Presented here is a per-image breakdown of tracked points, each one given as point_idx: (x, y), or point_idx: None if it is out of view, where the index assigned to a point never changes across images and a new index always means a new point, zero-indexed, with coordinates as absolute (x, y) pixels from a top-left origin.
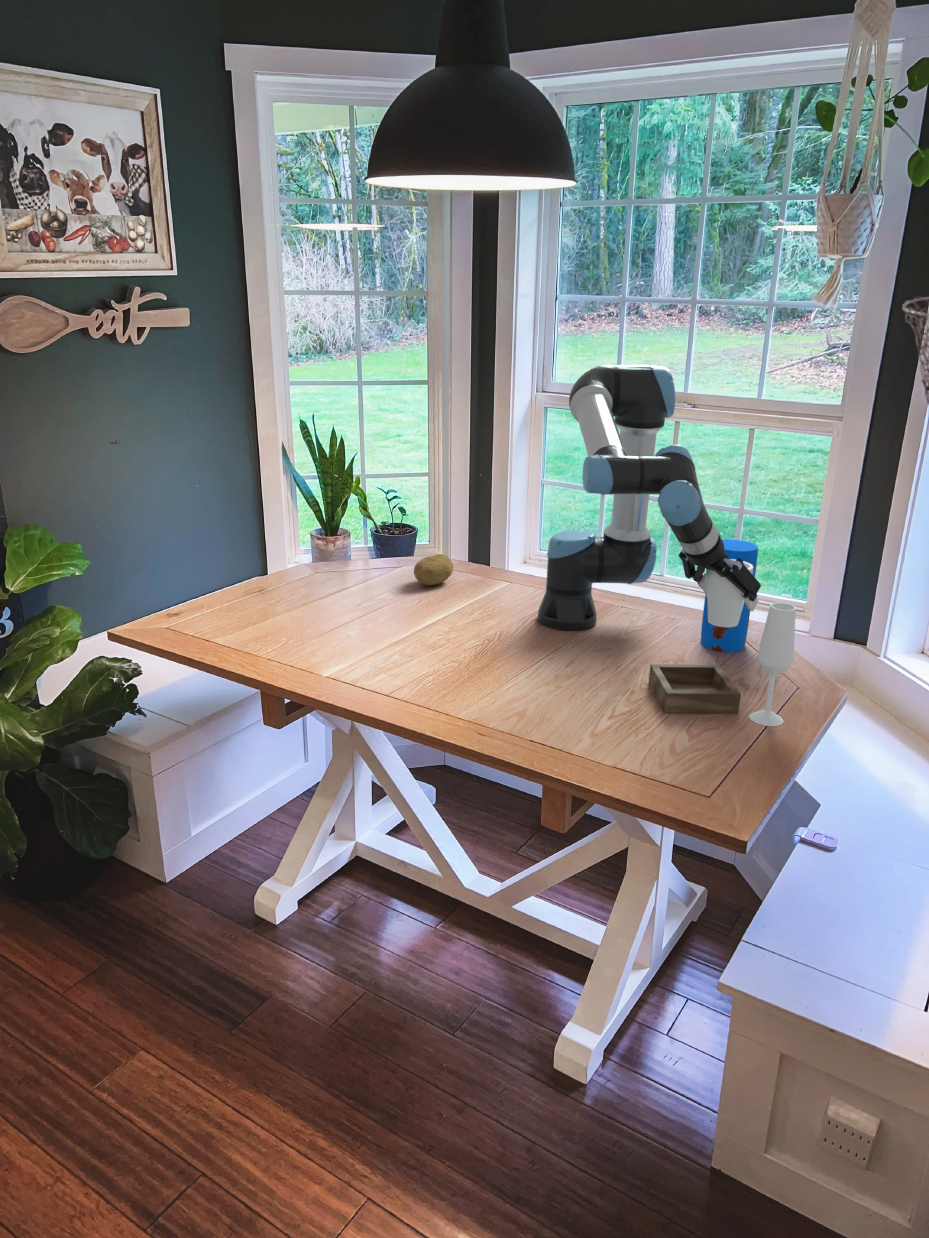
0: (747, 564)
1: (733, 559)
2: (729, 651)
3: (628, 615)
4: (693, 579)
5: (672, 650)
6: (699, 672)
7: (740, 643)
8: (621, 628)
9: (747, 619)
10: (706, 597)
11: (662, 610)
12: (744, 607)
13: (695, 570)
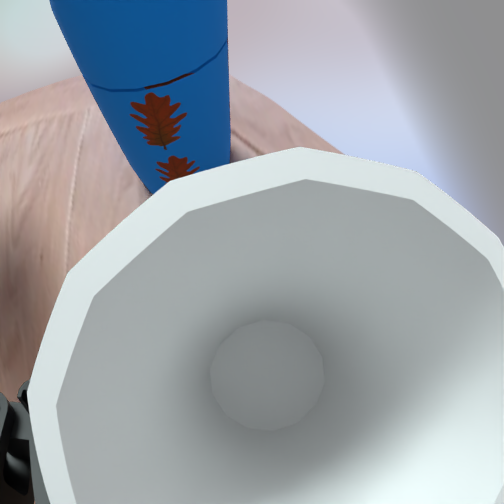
0: (465, 246)
1: (253, 161)
2: None
3: (7, 160)
4: None
5: None
6: None
7: (227, 162)
8: (5, 223)
9: (229, 115)
10: (109, 122)
11: (50, 102)
12: (222, 106)
13: (21, 437)
